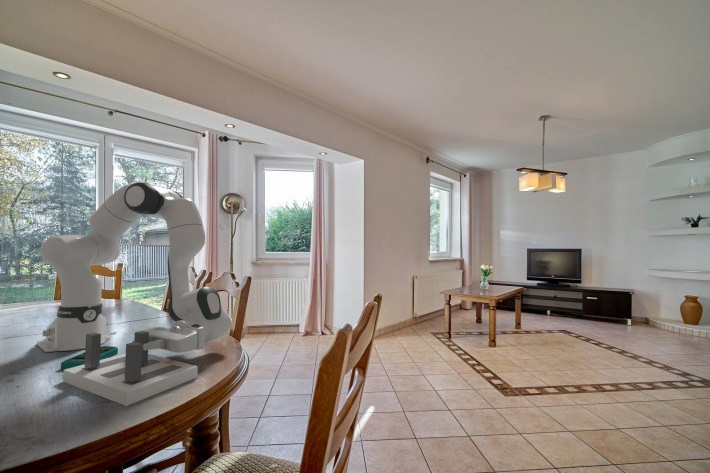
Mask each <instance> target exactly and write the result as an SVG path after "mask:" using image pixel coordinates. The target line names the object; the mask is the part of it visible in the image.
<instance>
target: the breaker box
mask: <svg viewBox="0 0 710 473" xmlns="http://www.w3.org/2000/svg"><path fill="white" fill-rule="evenodd" d="M125 357H126V352H125V353H122V354H118V355H114V356H112V357H110V358H106V359H103V360H100V366H99V367H96V368H92V369H89V368H86V367H85V364H84V365H80V366H76V367H73V368H69V369H65V370H63V372H62V377H63V378H62V382H63V383H65V384H68V385H71V386H74V387H76V388H78V389H81V390H83V391H86V392H88V393H91V394H94V395H96V396H100V397H103V398H105V399H106V400H110V401H112V402H115V403H118V404H120V405H123V406H125V407H127V406H131V405H133V404H135V403H138V402H140V401H143V400H145V399H147V398H150V397H152V396H155V395H157V394H160V393H162V392H165V391H168V390H169V389H172V388H175V387H178V386H180V385H183V384H185V383H187V382H190V381H192V380H195V379H197V378H198V369H199V368H198V366H197V365H195V364H194V365H192V364H190V363H186V362H182V361H178V360H174V359H170V358H166V357H162V356H158V355H156V354H155V355H154V354H150V353H148V364H145V365H142V366H141V380H138V381H135V382H129V381H126V380H125Z"/></svg>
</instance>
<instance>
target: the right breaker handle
mask: <svg viewBox="0 0 710 473" xmlns="http://www.w3.org/2000/svg"><path fill="white" fill-rule="evenodd" d="M125 353H126V357H125V380H126V381H129V382H135V381H138V380H141V361H142V343H138V342H132V341H131V342H128V343H126V344H125Z"/></svg>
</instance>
